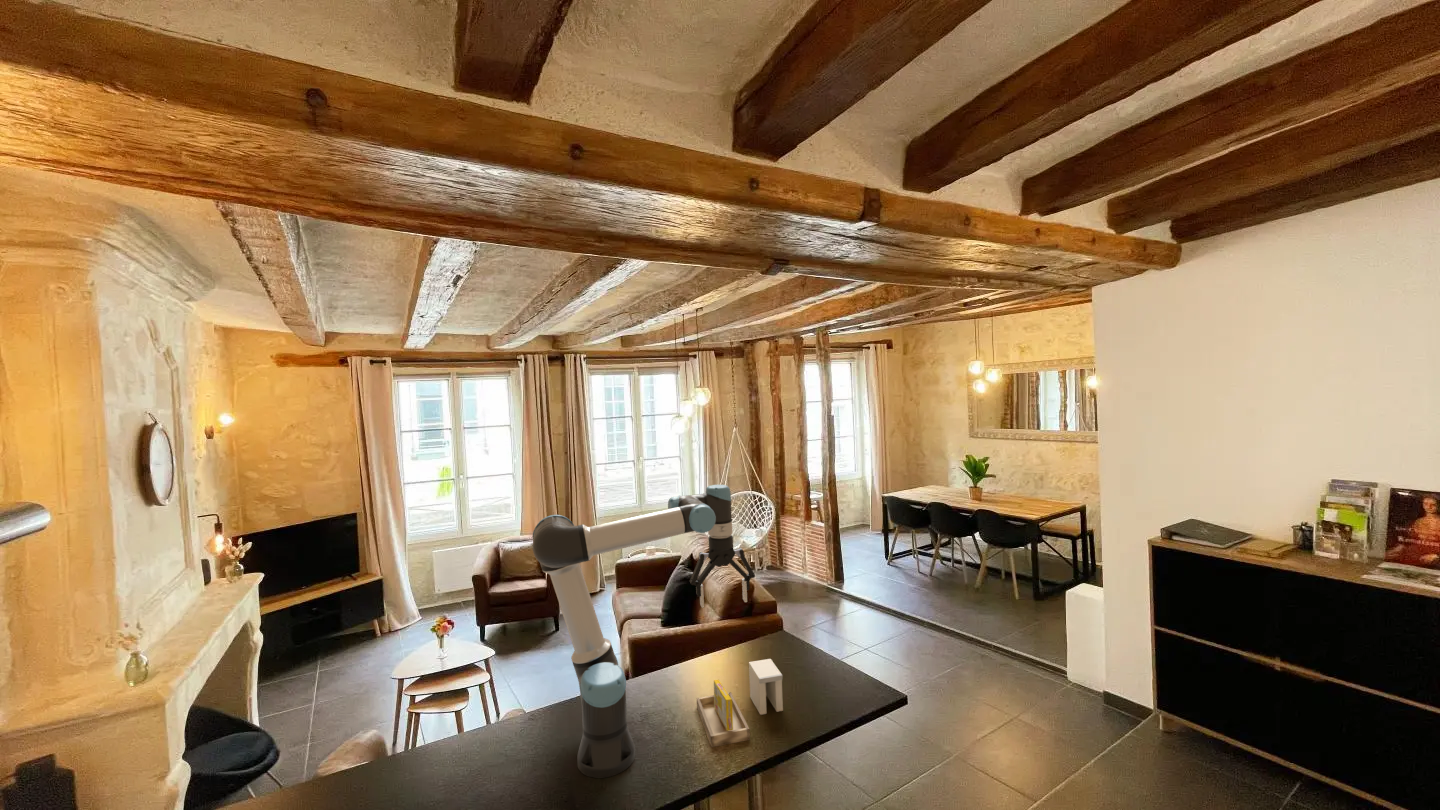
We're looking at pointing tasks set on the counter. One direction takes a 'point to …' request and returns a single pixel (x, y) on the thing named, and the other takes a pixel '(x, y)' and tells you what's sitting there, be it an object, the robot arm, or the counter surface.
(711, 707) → the tray
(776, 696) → the white box
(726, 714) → the candy box
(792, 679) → the counter surface
